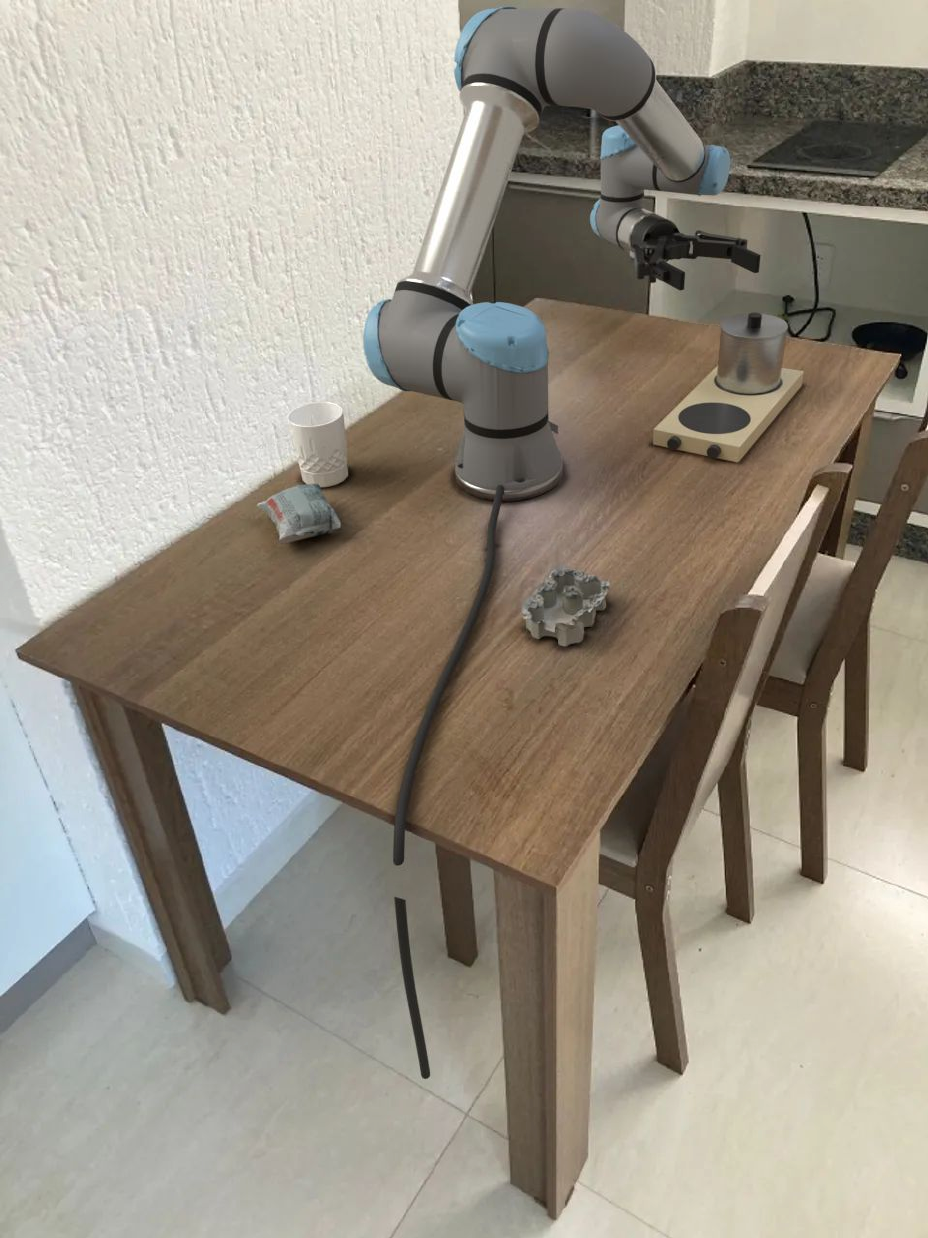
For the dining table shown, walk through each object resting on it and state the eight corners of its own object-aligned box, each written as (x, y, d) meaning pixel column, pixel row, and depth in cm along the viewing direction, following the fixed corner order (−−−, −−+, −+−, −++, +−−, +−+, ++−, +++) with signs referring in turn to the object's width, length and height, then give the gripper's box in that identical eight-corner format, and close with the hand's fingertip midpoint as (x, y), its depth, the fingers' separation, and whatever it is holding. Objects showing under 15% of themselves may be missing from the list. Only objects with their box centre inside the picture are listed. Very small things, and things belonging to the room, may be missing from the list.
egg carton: (574, 653, 112) (574, 623, 110) (515, 634, 115) (513, 605, 113) (616, 601, 119) (616, 572, 116) (559, 584, 122) (558, 556, 120)
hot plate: (735, 465, 142) (737, 449, 141) (649, 447, 148) (650, 431, 147) (801, 385, 161) (803, 370, 160) (723, 372, 167) (724, 357, 166)
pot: (768, 399, 153) (776, 330, 146) (706, 387, 157) (711, 321, 151) (789, 374, 159) (798, 308, 153) (729, 364, 164) (735, 299, 157)
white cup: (363, 470, 149) (354, 407, 143) (330, 494, 144) (319, 430, 138) (321, 459, 153) (311, 397, 147) (287, 482, 147) (275, 419, 141)
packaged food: (281, 557, 131) (275, 525, 128) (259, 516, 140) (252, 485, 137) (345, 540, 134) (341, 508, 131) (319, 501, 143) (314, 469, 140)
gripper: (710, 245, 179) (785, 280, 163) (584, 273, 172) (649, 312, 156) (713, 201, 174) (790, 232, 158) (584, 228, 168) (651, 263, 152)
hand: (720, 272), depth 157 cm, fingers open, 13 cm apart
